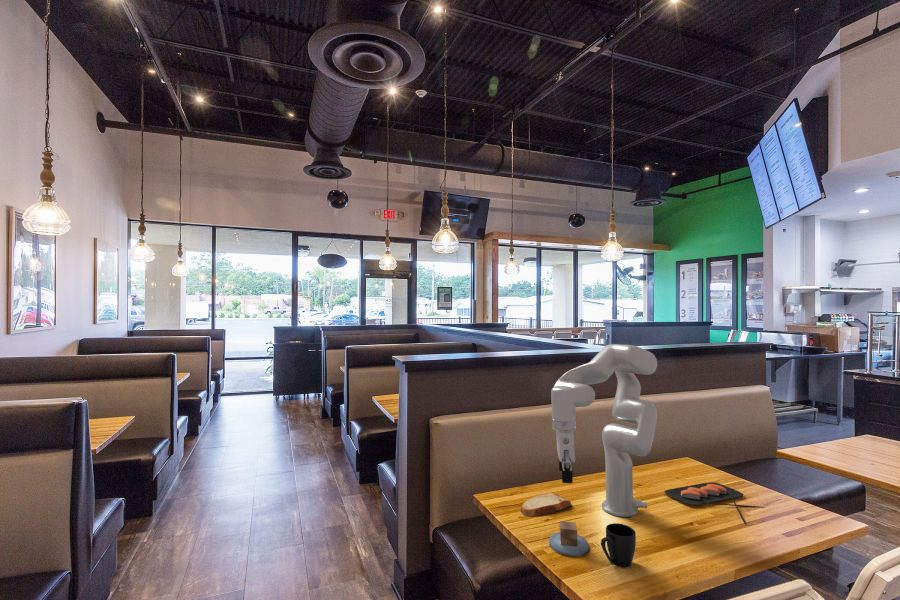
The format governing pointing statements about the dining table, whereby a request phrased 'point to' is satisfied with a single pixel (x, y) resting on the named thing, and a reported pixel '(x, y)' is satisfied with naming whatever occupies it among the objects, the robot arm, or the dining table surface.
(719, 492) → the sushi plate
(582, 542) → the dish
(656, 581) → the dining table surface
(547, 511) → the bread slice
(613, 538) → the mug
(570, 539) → the block
